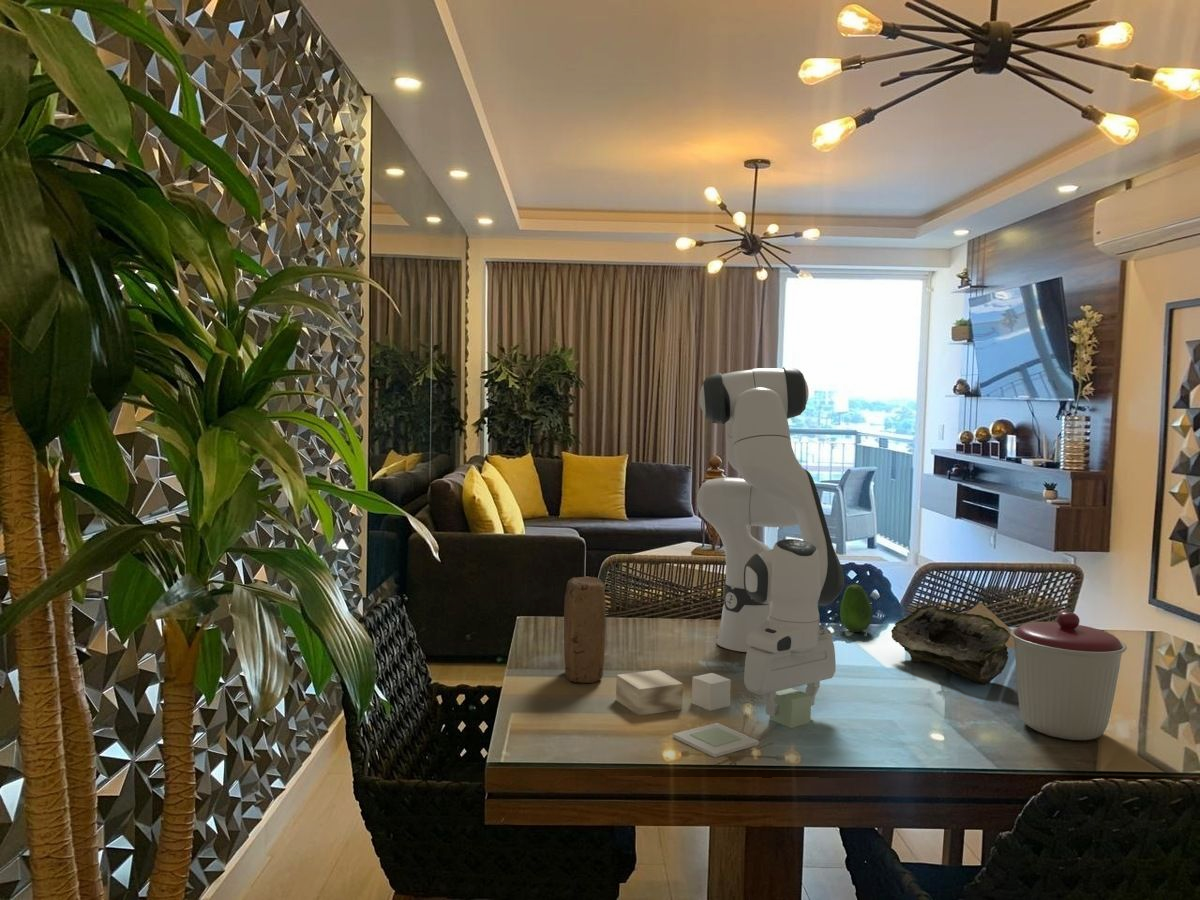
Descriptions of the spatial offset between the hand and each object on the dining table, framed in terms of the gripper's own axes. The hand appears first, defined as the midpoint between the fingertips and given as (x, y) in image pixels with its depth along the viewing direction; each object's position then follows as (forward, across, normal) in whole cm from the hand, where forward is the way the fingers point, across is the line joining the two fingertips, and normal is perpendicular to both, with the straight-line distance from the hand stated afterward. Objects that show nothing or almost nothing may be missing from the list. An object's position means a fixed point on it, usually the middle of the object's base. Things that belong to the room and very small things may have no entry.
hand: (790, 710), depth 158 cm
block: (+2, +17, -40) cm, 44 cm away
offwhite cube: (+2, +6, -14) cm, 15 cm away
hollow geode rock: (+2, -52, -2) cm, 52 cm away
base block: (+2, +16, -20) cm, 26 cm away
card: (+2, +18, 0) cm, 18 cm away
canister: (+2, -38, +29) cm, 48 cm away
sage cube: (+2, 0, 0) cm, 2 cm away
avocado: (+2, -63, -35) cm, 72 cm away
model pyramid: (+3, -83, -14) cm, 84 cm away
